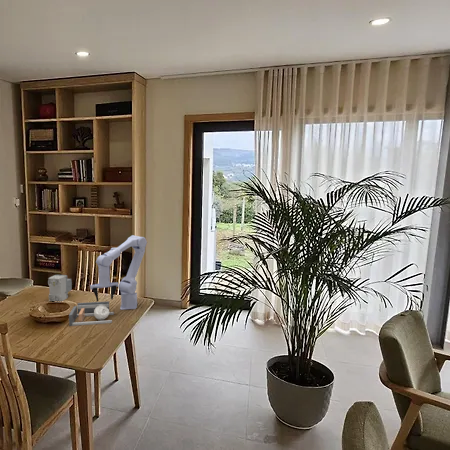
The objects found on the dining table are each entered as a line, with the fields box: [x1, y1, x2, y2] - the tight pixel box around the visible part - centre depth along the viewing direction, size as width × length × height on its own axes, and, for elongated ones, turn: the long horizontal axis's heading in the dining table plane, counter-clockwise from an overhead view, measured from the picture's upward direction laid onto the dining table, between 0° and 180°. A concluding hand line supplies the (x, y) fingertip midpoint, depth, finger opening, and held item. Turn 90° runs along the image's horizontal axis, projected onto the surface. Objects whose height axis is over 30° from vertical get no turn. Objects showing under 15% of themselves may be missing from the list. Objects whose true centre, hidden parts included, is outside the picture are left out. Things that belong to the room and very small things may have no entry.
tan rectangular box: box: [78, 308, 86, 322], centre depth 173 cm, size 2×8×5 cm, turn 14°
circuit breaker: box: [47, 274, 73, 302], centre depth 203 cm, size 8×14×15 cm, turn 174°
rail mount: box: [68, 301, 115, 327], centre depth 176 cm, size 21×16×6 cm
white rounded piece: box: [93, 305, 110, 321], centre depth 175 cm, size 8×8×8 cm
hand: (104, 299), depth 179 cm, fingers open, 7 cm apart
